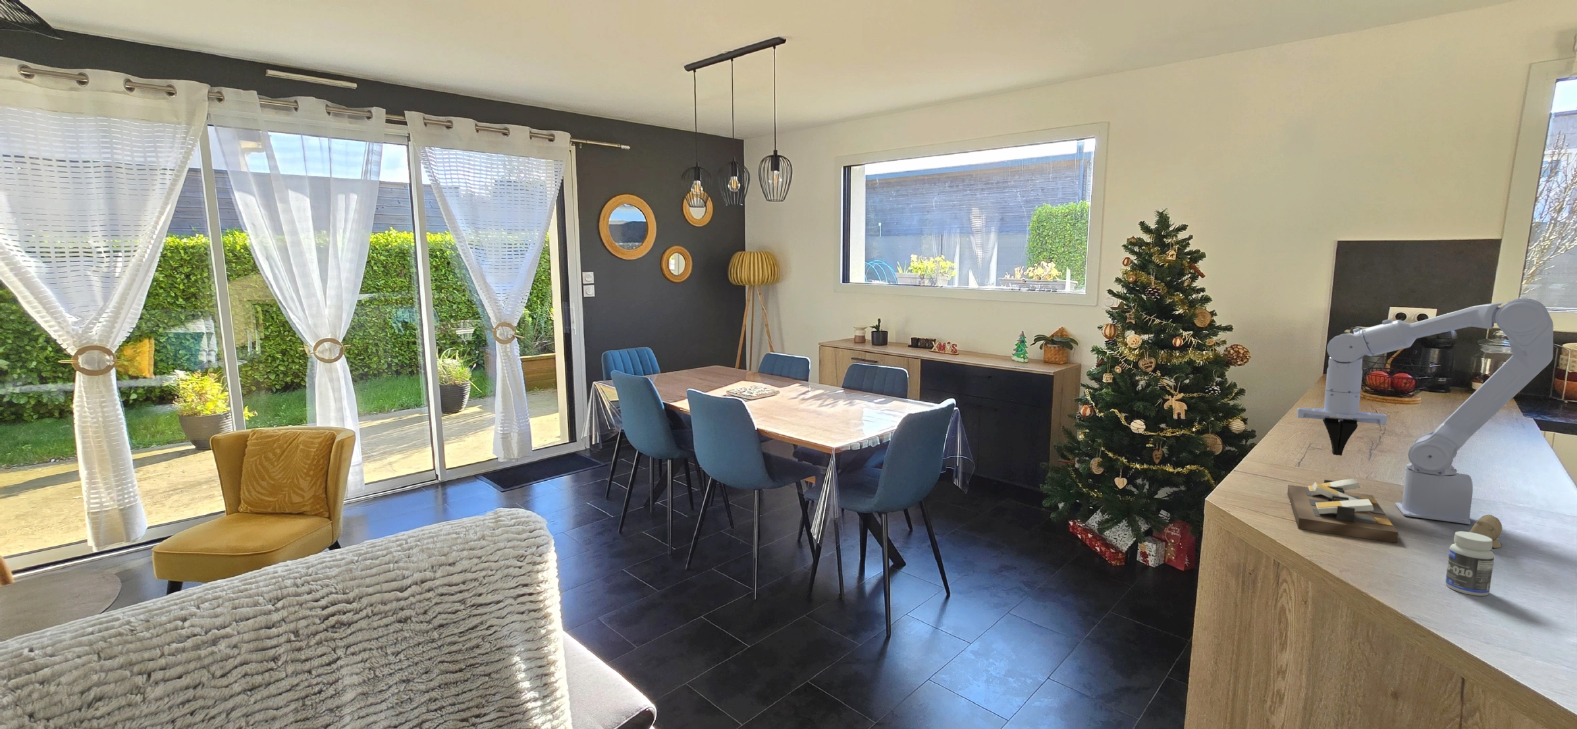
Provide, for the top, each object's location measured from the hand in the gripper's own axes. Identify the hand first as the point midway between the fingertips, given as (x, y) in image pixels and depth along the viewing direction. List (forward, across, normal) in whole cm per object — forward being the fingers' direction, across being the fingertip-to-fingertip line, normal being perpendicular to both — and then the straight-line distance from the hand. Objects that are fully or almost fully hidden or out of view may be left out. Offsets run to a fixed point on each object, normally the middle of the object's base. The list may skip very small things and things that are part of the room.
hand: (1336, 454), depth 143 cm
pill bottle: (+10, +11, -44) cm, 46 cm away
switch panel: (+9, -1, -14) cm, 17 cm away
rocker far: (+5, -1, -7) cm, 9 cm away
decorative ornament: (+10, +18, -19) cm, 28 cm away
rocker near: (+5, -1, -21) cm, 22 cm away
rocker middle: (+5, -1, -14) cm, 15 cm away
